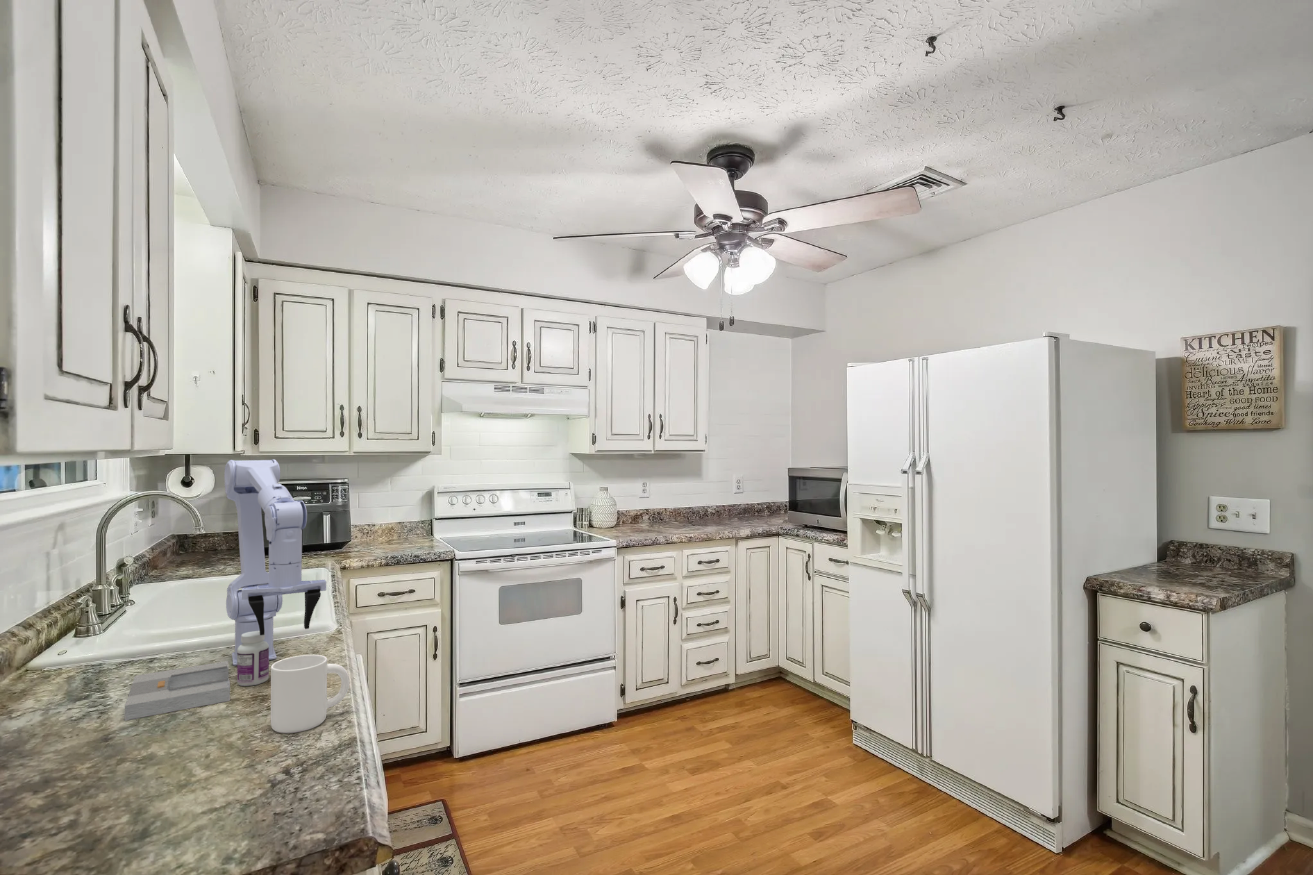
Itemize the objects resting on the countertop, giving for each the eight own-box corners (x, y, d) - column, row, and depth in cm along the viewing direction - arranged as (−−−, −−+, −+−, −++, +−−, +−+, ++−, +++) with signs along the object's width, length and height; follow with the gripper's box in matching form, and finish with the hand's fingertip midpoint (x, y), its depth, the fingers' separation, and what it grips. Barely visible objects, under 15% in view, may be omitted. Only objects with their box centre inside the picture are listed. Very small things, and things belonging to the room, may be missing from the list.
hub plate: (134, 688, 125) (135, 674, 125) (227, 672, 133) (228, 659, 133) (124, 720, 110) (124, 704, 110) (229, 700, 118) (230, 685, 118)
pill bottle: (262, 675, 132) (263, 628, 132) (273, 681, 128) (273, 632, 129) (232, 682, 128) (233, 633, 128) (242, 688, 124) (242, 638, 124)
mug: (343, 704, 116) (344, 647, 117) (355, 719, 110) (355, 658, 110) (267, 722, 109) (267, 661, 109) (274, 739, 103) (275, 674, 103)
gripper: (242, 569, 121) (241, 641, 121) (328, 561, 129) (327, 629, 129) (241, 563, 127) (240, 632, 126) (324, 556, 135) (323, 621, 135)
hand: (284, 630), depth 128 cm, fingers open, 7 cm apart
